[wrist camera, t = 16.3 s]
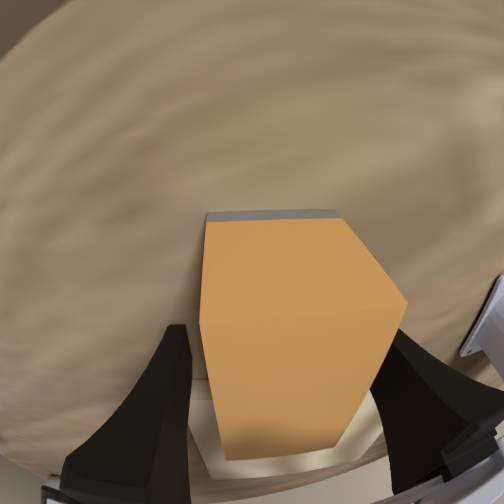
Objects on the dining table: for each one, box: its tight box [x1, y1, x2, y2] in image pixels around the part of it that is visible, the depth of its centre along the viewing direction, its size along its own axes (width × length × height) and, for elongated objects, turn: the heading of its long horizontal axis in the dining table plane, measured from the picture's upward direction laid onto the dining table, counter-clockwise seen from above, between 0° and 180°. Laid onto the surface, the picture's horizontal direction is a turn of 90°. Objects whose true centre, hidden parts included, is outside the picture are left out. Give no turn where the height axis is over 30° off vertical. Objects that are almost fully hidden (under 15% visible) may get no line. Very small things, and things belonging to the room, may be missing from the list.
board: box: [188, 379, 383, 480], centre depth 21 cm, size 16×18×2 cm
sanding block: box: [199, 209, 408, 461], centre depth 11 cm, size 5×9×6 cm, turn 0°
